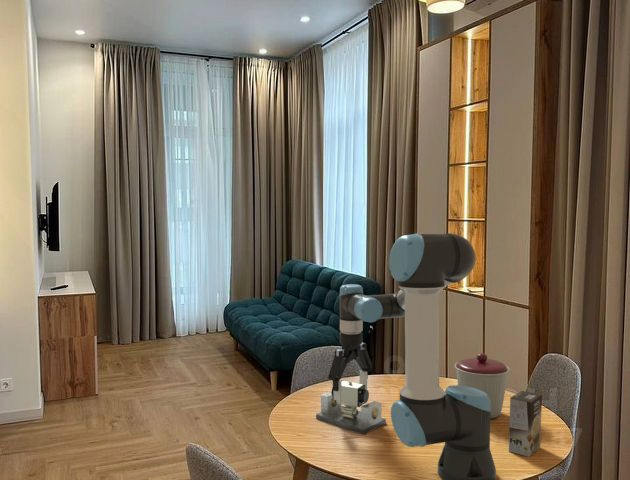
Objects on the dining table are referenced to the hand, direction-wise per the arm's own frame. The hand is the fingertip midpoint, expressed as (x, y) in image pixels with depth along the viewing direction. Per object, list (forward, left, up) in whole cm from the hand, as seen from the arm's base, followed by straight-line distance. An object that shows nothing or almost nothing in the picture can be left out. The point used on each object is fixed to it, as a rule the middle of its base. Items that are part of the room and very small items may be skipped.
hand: (350, 395), depth 198 cm
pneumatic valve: (0, 0, -7) cm, 7 cm away
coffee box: (-52, -17, -9) cm, 55 cm away
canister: (-29, -35, -9) cm, 46 cm away
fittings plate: (0, 0, -9) cm, 9 cm away
